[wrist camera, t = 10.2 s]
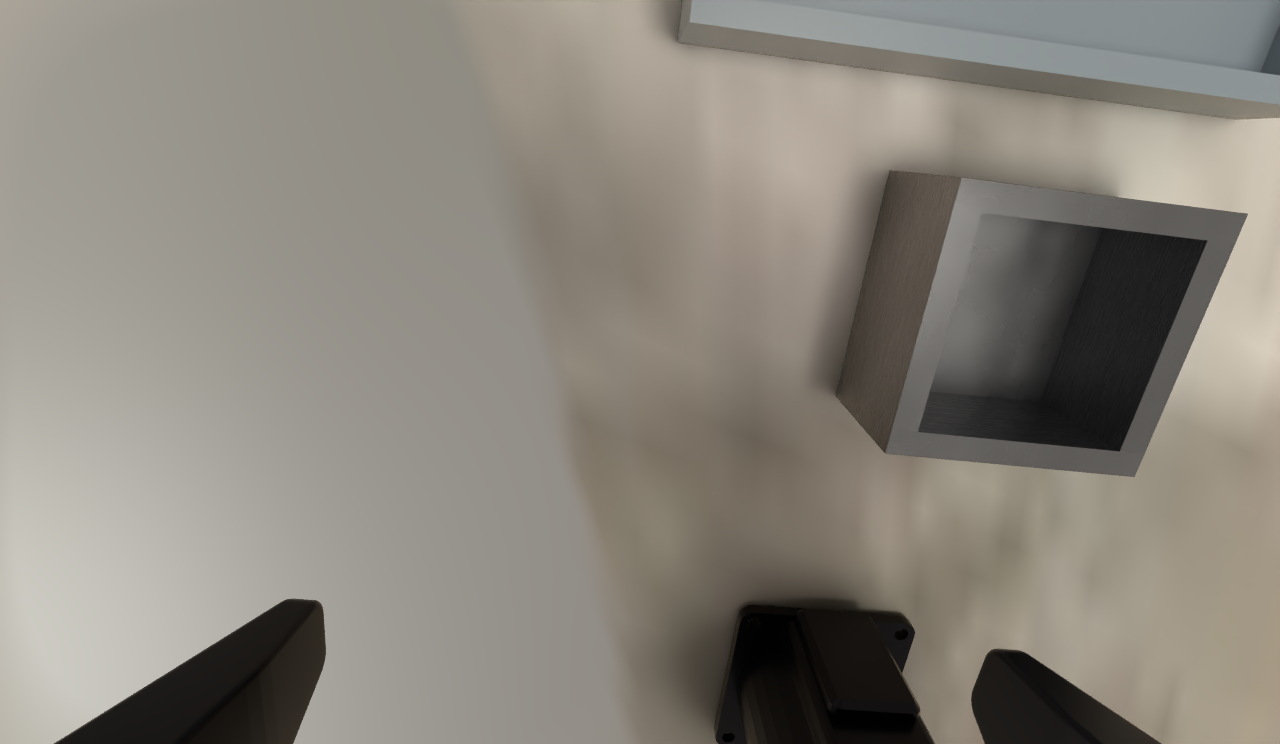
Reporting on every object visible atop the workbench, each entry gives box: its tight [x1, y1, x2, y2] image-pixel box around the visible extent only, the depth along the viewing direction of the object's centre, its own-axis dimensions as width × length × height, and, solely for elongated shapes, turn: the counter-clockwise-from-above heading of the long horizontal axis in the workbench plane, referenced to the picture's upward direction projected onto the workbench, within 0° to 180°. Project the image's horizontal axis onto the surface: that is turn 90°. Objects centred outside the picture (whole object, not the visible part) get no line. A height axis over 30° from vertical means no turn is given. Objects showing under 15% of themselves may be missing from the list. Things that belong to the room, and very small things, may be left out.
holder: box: [836, 171, 1248, 477], centre depth 18 cm, size 7×7×4 cm
